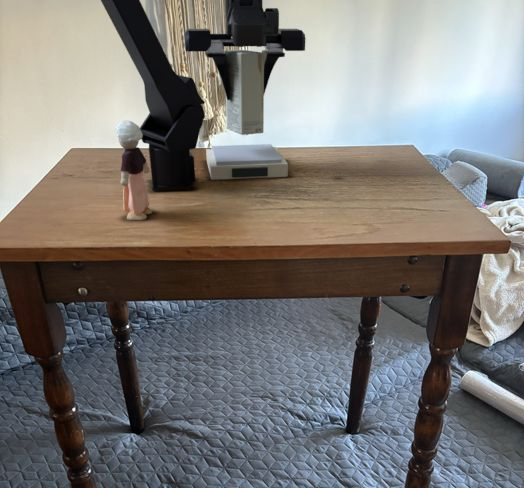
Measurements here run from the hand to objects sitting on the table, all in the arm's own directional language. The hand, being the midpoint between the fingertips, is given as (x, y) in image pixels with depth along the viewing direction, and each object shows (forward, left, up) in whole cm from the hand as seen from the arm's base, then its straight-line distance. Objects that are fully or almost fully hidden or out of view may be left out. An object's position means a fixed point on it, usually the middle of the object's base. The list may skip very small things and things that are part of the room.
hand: (244, 99), depth 93 cm
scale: (0, 0, -11) cm, 11 cm away
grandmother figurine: (-18, -22, -12) cm, 31 cm away
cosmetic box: (0, 0, -5) cm, 5 cm away
